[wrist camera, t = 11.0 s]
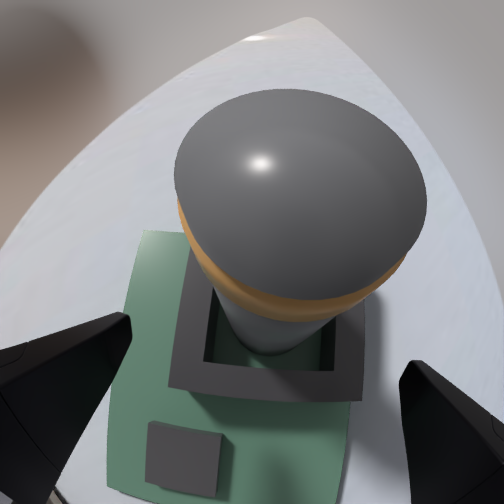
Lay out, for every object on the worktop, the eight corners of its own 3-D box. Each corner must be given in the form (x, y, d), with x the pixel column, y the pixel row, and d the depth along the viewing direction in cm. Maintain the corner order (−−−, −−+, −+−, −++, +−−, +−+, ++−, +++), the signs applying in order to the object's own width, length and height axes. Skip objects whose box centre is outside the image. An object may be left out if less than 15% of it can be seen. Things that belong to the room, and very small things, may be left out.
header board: (329, 512, 11) (346, 538, 7) (112, 482, 11) (84, 499, 8) (347, 252, 18) (366, 223, 15) (147, 235, 19) (127, 205, 15)
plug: (317, 348, 15) (469, 259, 4) (236, 364, 15) (173, 320, 3) (300, 274, 17) (367, 88, 5) (224, 287, 16) (172, 100, 5)
